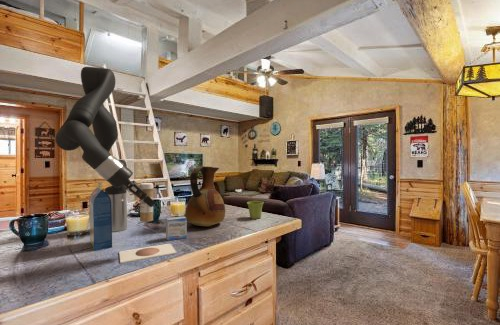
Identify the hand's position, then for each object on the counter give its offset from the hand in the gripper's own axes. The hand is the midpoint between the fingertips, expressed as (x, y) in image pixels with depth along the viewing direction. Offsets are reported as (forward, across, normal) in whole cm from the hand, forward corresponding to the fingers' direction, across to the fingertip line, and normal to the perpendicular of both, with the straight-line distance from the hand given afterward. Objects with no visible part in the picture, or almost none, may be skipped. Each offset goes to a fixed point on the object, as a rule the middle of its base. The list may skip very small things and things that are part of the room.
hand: (152, 203), depth 94 cm
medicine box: (+20, +12, +4) cm, 24 cm away
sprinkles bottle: (+3, 0, +6) cm, 6 cm away
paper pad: (+11, 0, +14) cm, 18 cm away
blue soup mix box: (+1, +18, +24) cm, 31 cm away
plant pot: (+54, +27, -29) cm, 67 cm away
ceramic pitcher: (+33, +28, -8) cm, 44 cm away
